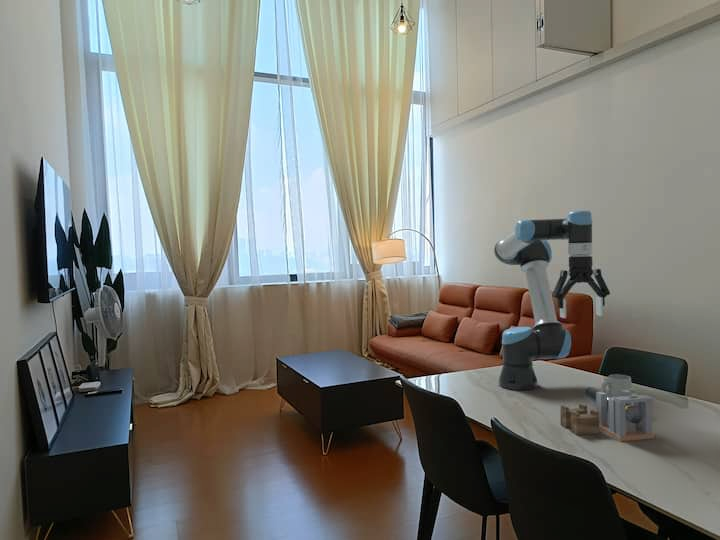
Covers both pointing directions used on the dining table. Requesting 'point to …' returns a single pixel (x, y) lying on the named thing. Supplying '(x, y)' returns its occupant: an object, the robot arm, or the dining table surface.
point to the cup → (616, 384)
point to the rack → (580, 419)
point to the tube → (631, 411)
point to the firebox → (624, 416)
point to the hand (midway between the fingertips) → (581, 316)
